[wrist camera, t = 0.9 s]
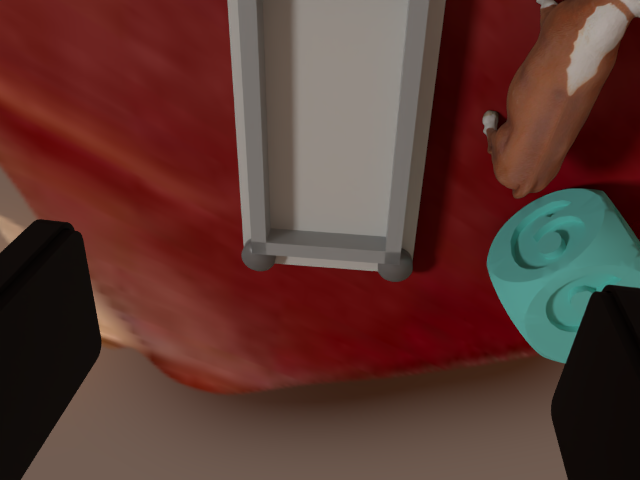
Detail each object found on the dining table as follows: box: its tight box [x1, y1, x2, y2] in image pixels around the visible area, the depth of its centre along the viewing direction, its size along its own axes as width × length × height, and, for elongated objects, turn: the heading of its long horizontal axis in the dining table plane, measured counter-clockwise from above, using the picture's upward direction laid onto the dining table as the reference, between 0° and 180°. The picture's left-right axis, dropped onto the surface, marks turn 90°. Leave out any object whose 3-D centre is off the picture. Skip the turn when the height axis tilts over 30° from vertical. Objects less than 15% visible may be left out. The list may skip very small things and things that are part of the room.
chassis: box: [228, 0, 446, 282], centre depth 36 cm, size 22×12×3 cm, turn 179°
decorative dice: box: [487, 188, 640, 363], centre depth 38 cm, size 8×8×8 cm
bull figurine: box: [483, 0, 640, 198], centre depth 31 cm, size 4×13×8 cm, turn 162°
